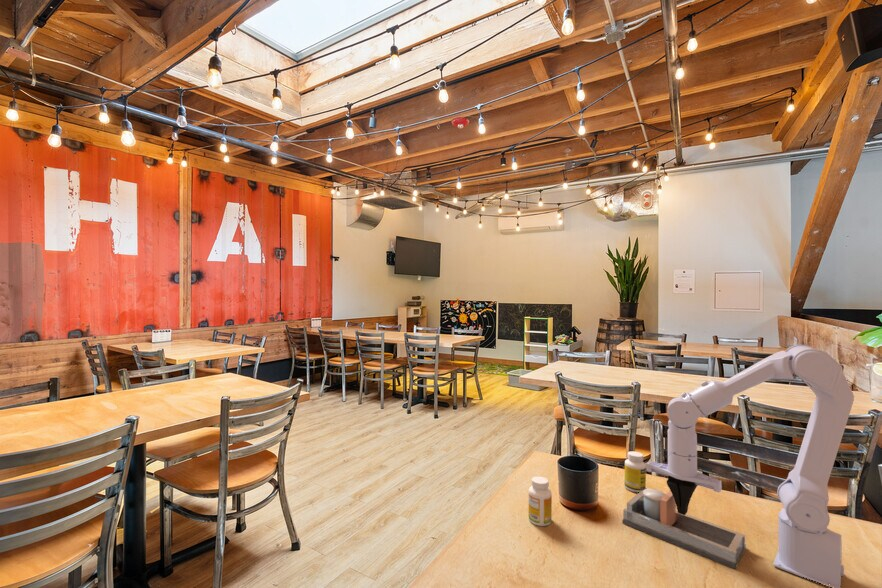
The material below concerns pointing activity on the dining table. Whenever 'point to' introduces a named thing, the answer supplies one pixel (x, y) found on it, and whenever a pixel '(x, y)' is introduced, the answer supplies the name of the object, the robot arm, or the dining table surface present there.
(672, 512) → the plate
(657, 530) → the pusher lane
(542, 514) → the supplement bottle
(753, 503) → the dining table surface
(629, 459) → the supplement bottle
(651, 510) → the jar
